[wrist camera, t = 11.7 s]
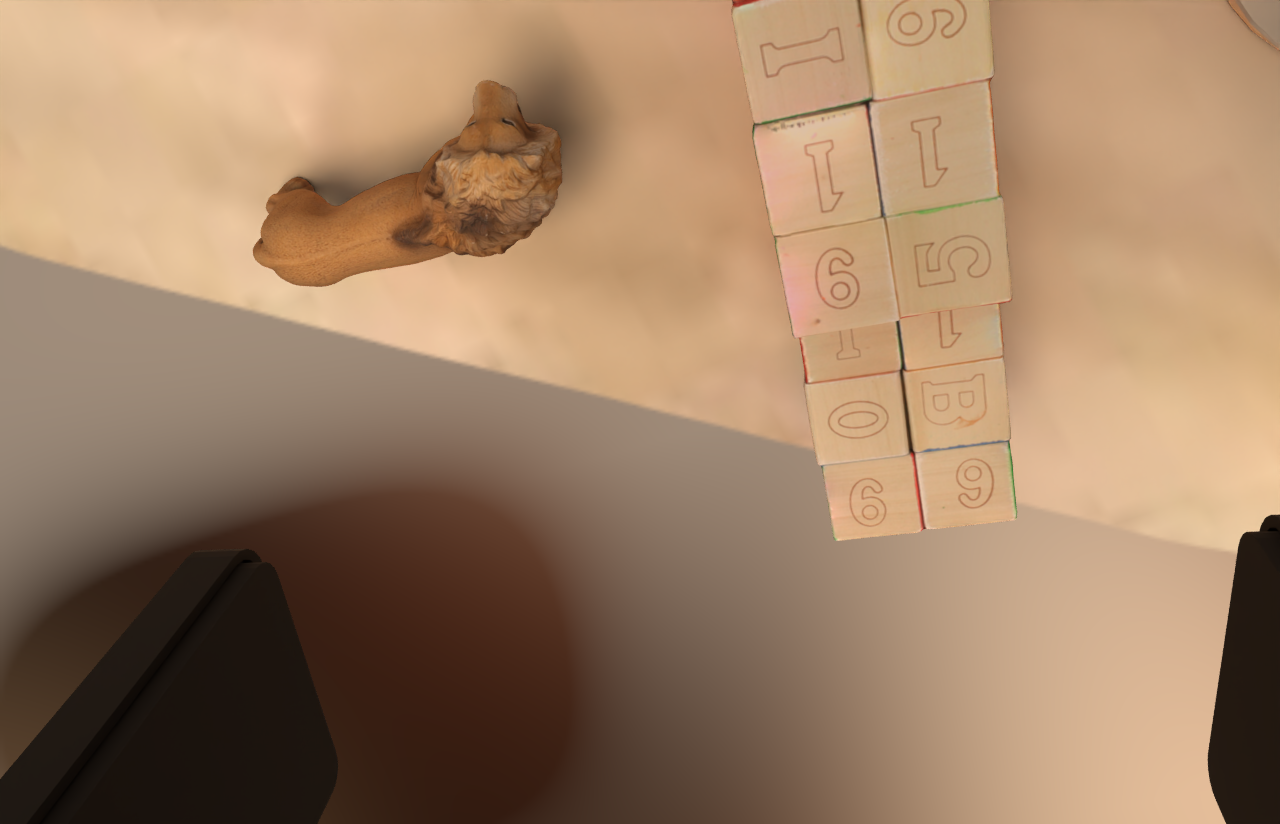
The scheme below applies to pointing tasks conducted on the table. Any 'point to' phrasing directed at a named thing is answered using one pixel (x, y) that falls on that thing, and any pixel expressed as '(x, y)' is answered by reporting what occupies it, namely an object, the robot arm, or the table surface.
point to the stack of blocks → (889, 249)
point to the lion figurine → (423, 203)
